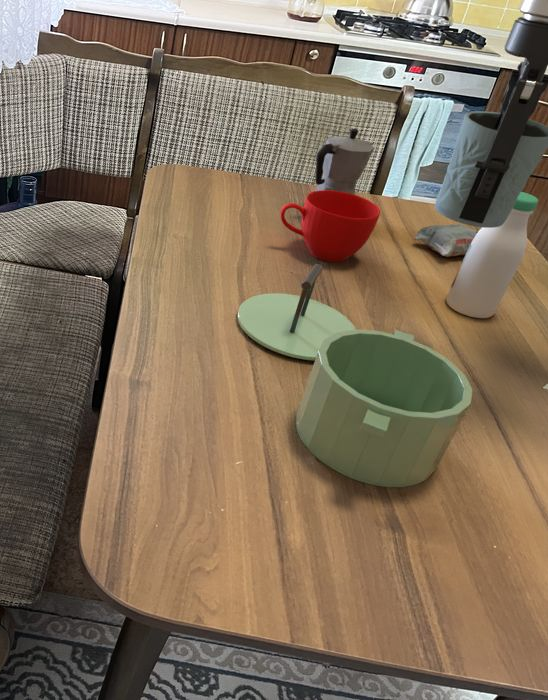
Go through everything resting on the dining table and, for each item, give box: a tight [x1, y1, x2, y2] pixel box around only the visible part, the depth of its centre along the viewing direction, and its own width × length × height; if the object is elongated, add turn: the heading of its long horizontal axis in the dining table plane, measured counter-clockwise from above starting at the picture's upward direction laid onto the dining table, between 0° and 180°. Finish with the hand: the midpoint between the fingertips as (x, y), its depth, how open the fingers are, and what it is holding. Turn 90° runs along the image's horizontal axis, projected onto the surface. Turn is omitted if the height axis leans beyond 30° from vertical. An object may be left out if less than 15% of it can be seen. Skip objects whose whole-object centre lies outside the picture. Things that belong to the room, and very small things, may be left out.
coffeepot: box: [314, 128, 375, 195], centre depth 139 cm, size 15×9×18 cm, turn 122°
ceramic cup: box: [279, 190, 381, 263], centre depth 125 cm, size 13×17×10 cm
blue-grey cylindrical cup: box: [434, 110, 548, 228], centre depth 86 cm, size 10×10×12 cm
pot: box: [295, 328, 473, 488], centre depth 82 cm, size 17×22×10 cm
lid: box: [237, 263, 357, 362], centre depth 102 cm, size 18×18×10 cm
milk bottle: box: [445, 191, 539, 319], centre depth 110 cm, size 8×8×20 cm
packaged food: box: [414, 223, 479, 258], centre depth 132 cm, size 9×12×5 cm
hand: (473, 207), depth 89 cm, fingers closed on blue-grey cylindrical cup, 9 cm apart
